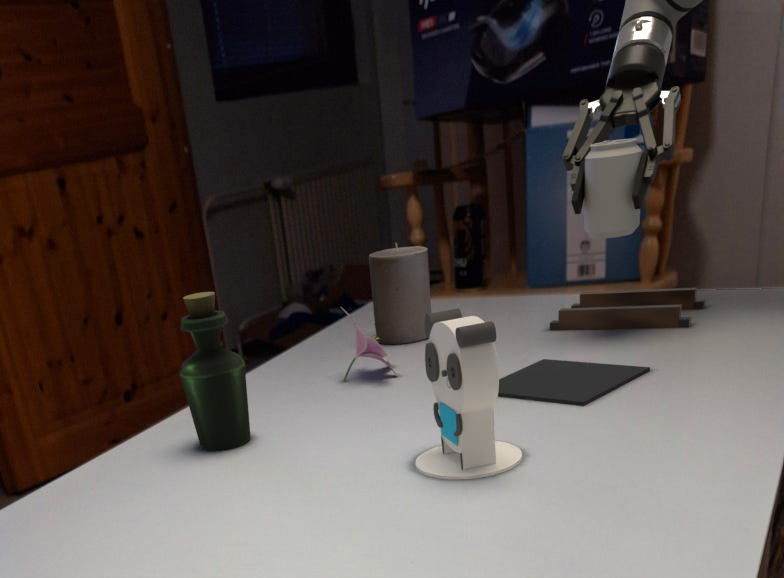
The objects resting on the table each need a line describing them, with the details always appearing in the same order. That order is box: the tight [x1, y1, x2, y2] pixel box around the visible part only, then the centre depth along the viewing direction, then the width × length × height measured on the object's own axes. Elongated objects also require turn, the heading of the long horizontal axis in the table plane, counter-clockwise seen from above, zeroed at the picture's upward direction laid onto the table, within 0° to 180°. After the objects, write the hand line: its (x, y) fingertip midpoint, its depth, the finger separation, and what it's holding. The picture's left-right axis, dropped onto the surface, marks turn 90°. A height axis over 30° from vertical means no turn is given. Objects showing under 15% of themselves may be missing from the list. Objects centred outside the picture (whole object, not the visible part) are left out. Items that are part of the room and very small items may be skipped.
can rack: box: [549, 287, 707, 331], centre depth 147 cm, size 21×14×3 cm, turn 60°
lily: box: [340, 306, 399, 382], centre depth 136 cm, size 12×12×10 cm
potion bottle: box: [179, 291, 251, 451], centre depth 114 cm, size 8×8×18 cm
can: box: [583, 138, 643, 240], centre depth 130 cm, size 8×8×12 cm
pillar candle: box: [368, 242, 432, 345], centre depth 153 cm, size 10×10×15 cm
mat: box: [498, 358, 651, 407], centre depth 121 cm, size 16×16×1 cm
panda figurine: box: [415, 307, 523, 481], centre depth 97 cm, size 12×11×15 cm
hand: (605, 205), depth 128 cm, fingers closed on can, 7 cm apart
